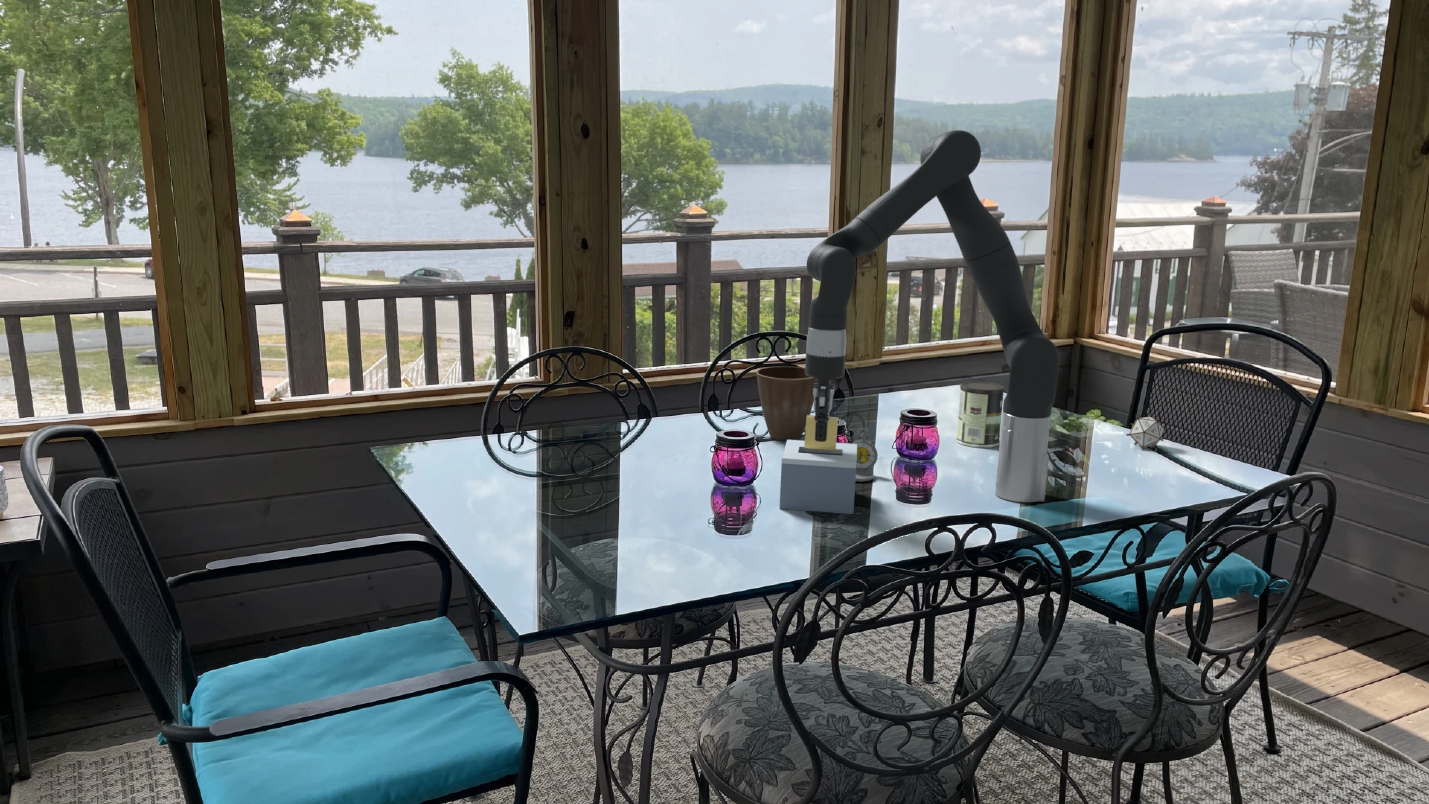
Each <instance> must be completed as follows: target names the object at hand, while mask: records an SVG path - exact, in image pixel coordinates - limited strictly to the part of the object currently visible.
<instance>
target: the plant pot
mask: <svg viewBox="0 0 1429 804" xmlns="http://www.w3.org/2000/svg"><path fill="white" fill-rule="evenodd" d="M756 381H757V387H758V394H759V401H760V405H761V406H760V407H761V411H762V415H763V417H764V422H765V425H766V429H767V431H768V434H769V437H770V438H771V439H773V440H776V441H780V442H781V441H782V442H787V440H800V439H801V438H802V436H803V434H804V432H805V430H806V418H807V415H811V413H812V410H813V406H814V395H813V386H814V384H818V379H817V378H815V377H814V378H813V377H809V376H807V375H806V373H805V367H798V366H768V367H762V368H759V369H758V370H757V371H756Z"/></svg>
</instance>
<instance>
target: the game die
mask: <svg viewBox="0 0 1429 804" xmlns="http://www.w3.org/2000/svg"><path fill="white" fill-rule="evenodd" d="M1135 418H1136V420H1135V421H1134V423H1132V422H1131V423H1130V426H1131V429H1130V432H1129V433H1126V434H1125V436H1127V437H1129V436H1130V437H1131V438H1132V440H1133V441H1134V443H1133V444H1134V445H1135V446H1137V445H1139V446H1140V447H1141V450H1143V451H1144V450H1145V448H1149V447H1155V448H1156V449H1158V445H1157V444H1158V443H1159V442H1160V441H1161V442H1163V441H1164V439H1163V438H1162V437H1163V434H1164V431H1167V430H1168V428H1167V427H1163V426H1162V425H1161V423H1160V422H1159V421H1160V418H1157V419H1155V418H1153V417H1152V413H1150V414H1149V416H1143V417H1139V415H1135Z"/></svg>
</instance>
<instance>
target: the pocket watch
mask: <svg viewBox="0 0 1429 804" xmlns="http://www.w3.org/2000/svg"><path fill="white" fill-rule="evenodd" d="M861 430H866V431H867V432H868V433H867V434H866V433H865V432H862V433H860V431H861ZM870 432H871V431H870V430H868V429H867V428H864V427H863V428H858V430H857V434H858V436H860V438H861V439H856V440H854V441H853V442H852V443H850V444H857V462H856V479H855V482H860V483H861V482H868V481H872V480H873V479H874V477H875V475H874V473H873V472H871V471H868V470H870V469H871V468H873V467H875V464H876V463H877V462H878V461H877V460H878V450H877V448H876V446H875V445H874V444H873V443H872V442H871V441H869V440H867V439H865V438H866V437H868V436H869V435H870ZM860 461H861V462H860Z"/></svg>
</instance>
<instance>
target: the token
mask: <svg viewBox="0 0 1429 804" xmlns="http://www.w3.org/2000/svg"><path fill="white" fill-rule="evenodd" d="M814 417H815V414H814V415H812V414H810V415H807V418H806V427H805V430H804V432H805V435H804V441H805V445H804V448H811V449H823V450H834V451H835V450H836V443H837V436H838V424H839V417H836V416H829V417H828V418H829V421H828V423H827V439H826V441H825V442H818V441H816V440H815V428H816V422H815V419H814Z"/></svg>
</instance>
